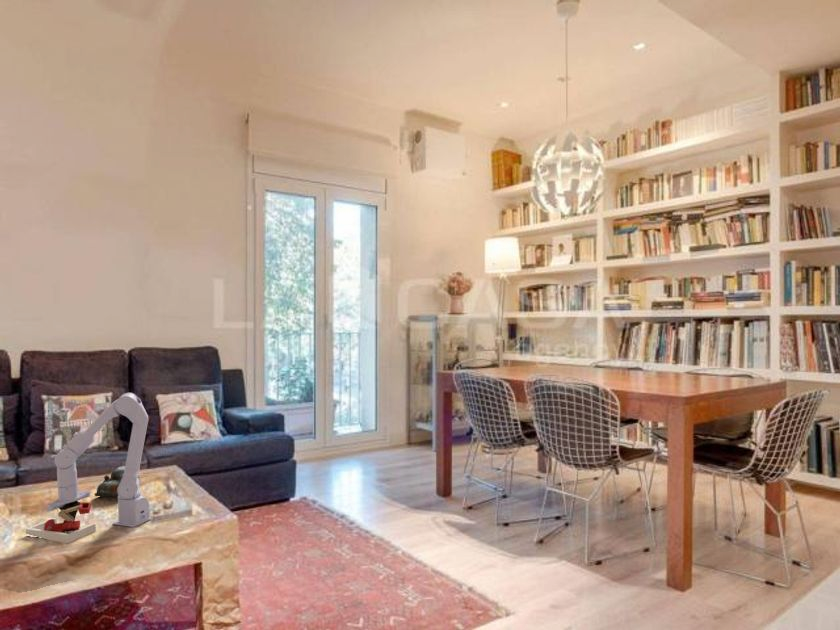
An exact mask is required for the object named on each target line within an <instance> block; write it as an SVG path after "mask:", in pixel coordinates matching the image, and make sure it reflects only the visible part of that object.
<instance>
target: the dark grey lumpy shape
mask: <svg viewBox="0 0 840 630" xmlns="http://www.w3.org/2000/svg"><path fill="white" fill-rule="evenodd" d="M124 470H125V465H122V466H118V467H117V468H115V469H114V470H113V471H112V473H111V474H110V476H109V475H108V474H105V475H104V476H103V478H104V480H103V482H101V483H99V484H98V485H97V488H96V492H95V493H94V494H93V495H95V497H97V496H103V497H114V496H115V497H117V498H118V492H117V488H118V486H119V484H120V482H121V479H122V478H123V474H124ZM115 497H114V498H115Z"/></svg>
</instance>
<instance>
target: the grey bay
mask: <svg viewBox="0 0 840 630" xmlns="http://www.w3.org/2000/svg"><path fill="white" fill-rule="evenodd" d="M52 519H54V522H55V524H57V523H58V522H57V517H54V518H52ZM47 521H48V520H45V521H43V522H40V523H37V524H34V525H33V526H30V527H28V528H25V535H26V534H29V535H33V536H37V537H41V538H44V539H43V540H45V539H47V540H46V541H54V542H58V543H66V544H70V543H72V542H74V541H77V540H79V539H82V538H84V537H86V536H87V535H91V534H92V533H96V527H97V526H96V525H97V524H96V523H91V524H89V525H86V526H84V527H81V528H79V530H76V531H74V532H72V533H70V532H69V533H68V534H67V533H60V532H54V531H47V530H44V525H45V523H46V522H47Z"/></svg>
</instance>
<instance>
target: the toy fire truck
mask: <svg viewBox="0 0 840 630" xmlns="http://www.w3.org/2000/svg"><path fill="white" fill-rule="evenodd" d="M91 509H92V506H91V502H84V501H83V502H82V501H81V502H80V505H79V506H76V507H73V508H69V509H66V510H60V511H59V512H58V514H57V516H58V517H60V518H61V519H63V522H59V523H58V522H57V524H55V522H54V519H53V518H51V519H48V520H46V521H47V522H46V523H45V525H44V530H47V531H54V532H60V533H67V534H69V533H72V532H74V531H76V530H79V529H81V528H80V527H81V520H75V521H74V517H72V516H71V515H70V514H68V513H69V512H72V511H75V510H78V512H79V515H85V514H90V511H91Z"/></svg>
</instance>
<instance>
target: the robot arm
mask: <svg viewBox="0 0 840 630" xmlns="http://www.w3.org/2000/svg"><path fill="white" fill-rule="evenodd" d="M120 415H122V416H124V417H126V418H127V419H128V420H129V421H130V422H131V423H132V426H131V433H130V439H129V445H128V450H127V454H126V461H125V465H124V466H125V470H124V474H123V478H122V479H121V482H120V484H119V486H118V488H117V492H118V497H117V510H118V513H117V514H118V520H115V521H114V522H112V525H115V526H121V527H122V526H124V527H129V528H135V527H136V526H140V525H141V524H143V523H145V522H148V521H150V520H152V517H150V504H149V499H147V498H146V497H144V496H143V495H142V492H141V491H140V489H139V488H140V487H139V486H140V485H141V478H140V467H141V461H142V457H143V450H144V446H145V445H144V444H145V440H146V435H147V429H148V423H149V415H148V413H147V411H146V408H145V407H144V405H143V403H142V400H141V398H139V397H138V396H137V394H135V393H133V392H125V393H123V394H121V395H120V396H119V398H118V399H116V400H115V401H113V402H112V403H110V404H109V405H107V407H106V408H105V409H104V410H103V411H102V413H100V414H99V415H98V417H97V418H95V420H94V421H93V422H92V423H91V424H90V425H89V426H88V428H87V429H81V430H79V431H76V432H75V433H74V434H73V435H72V436H73V438H71V439H70V440H69V441H68V442H67V444H63V446H62V449H61V450H60V451H58V452H57V454H55V457H54V465H55V466H56V478H57V479H56V481H57V493H58V497H57V499H56V500H54V501H53V502H50V503H48V504H46V506H45V507H46V512H50V513H51V512H54V510H57V509H59V510H60V511H61V510H66V509H69V508H73V507H76V506H79V505H80V503H81V502H80V500H83V499H85V498H89V497H91V491H90V490H83V491H80V492H79V484H78V483H79V482H78V471H77V470H78V469H77V462H76V461H77V459H78V457H80V456H81V455H82V454H84V452H85V451H86V450H87V449H88V448H89V447H90V446H91V445H92V444H93V443H94V442H95V435H96V434H97V433H98V432H99V431H100V430H101V429H103V427H104V426H105V425H106V424H107V423H108V422H109V421H110V420H111V419H113V418H117V417H119V416H120ZM78 512H79V510H75V511H72V512H69V513H68V514H70V515H71V516H72V517H74V521H76V516H77V514H78Z"/></svg>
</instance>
